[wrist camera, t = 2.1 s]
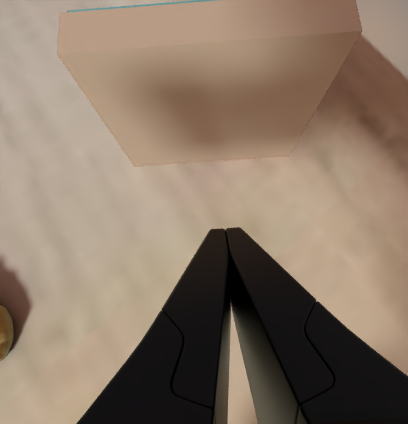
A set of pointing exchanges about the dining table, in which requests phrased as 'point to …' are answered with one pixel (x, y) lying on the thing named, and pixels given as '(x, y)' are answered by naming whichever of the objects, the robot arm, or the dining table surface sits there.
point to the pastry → (5, 332)
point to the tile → (207, 73)
